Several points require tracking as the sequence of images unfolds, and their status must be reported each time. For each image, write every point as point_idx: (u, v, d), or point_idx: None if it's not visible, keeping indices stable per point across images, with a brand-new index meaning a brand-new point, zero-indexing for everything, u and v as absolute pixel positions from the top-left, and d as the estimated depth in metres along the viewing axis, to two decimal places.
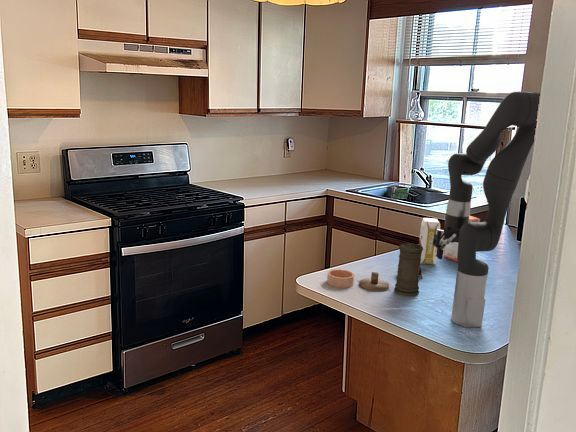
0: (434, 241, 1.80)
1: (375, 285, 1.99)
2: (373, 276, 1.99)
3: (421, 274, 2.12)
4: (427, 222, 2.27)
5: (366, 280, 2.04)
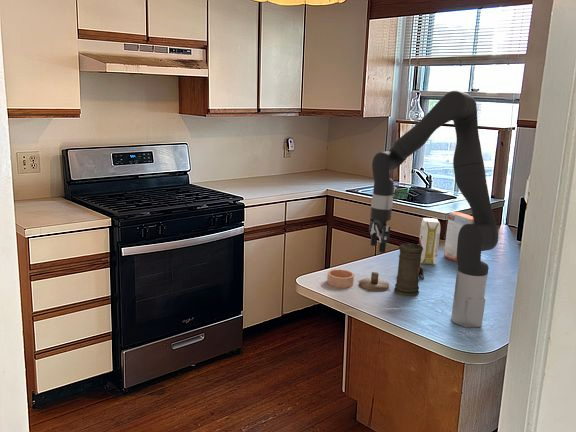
0: None
1: (375, 285, 1.99)
2: (373, 276, 1.99)
3: (423, 274, 2.12)
4: (427, 222, 2.27)
5: (366, 280, 2.04)
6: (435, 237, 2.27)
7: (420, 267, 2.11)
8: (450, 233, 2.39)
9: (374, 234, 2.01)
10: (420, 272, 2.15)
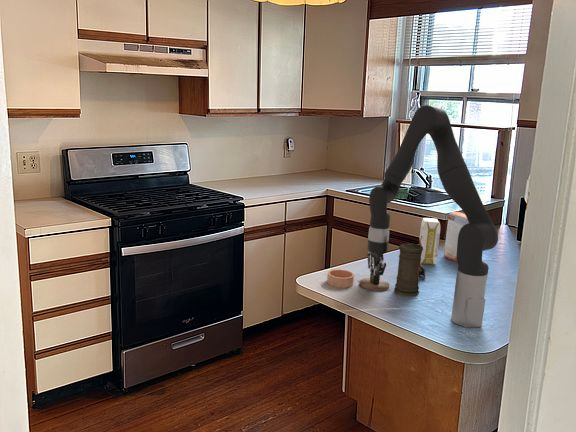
0: None
1: None
2: (373, 276, 1.99)
3: (424, 275, 2.11)
4: (427, 222, 2.27)
5: (366, 280, 2.04)
6: (435, 237, 2.27)
7: (422, 267, 2.10)
8: (450, 233, 2.39)
9: (373, 269, 2.01)
10: (421, 272, 2.14)
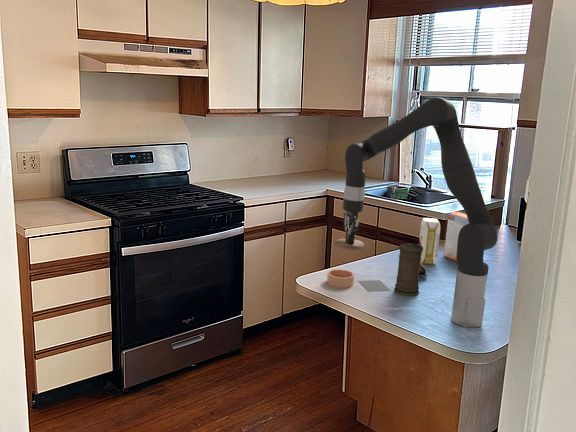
0: None
1: (350, 244, 1.98)
2: None
3: (425, 275, 2.11)
4: (427, 222, 2.27)
5: (342, 240, 2.02)
6: (435, 237, 2.27)
7: (423, 267, 2.10)
8: (450, 233, 2.39)
9: (349, 229, 2.00)
10: (423, 272, 2.14)
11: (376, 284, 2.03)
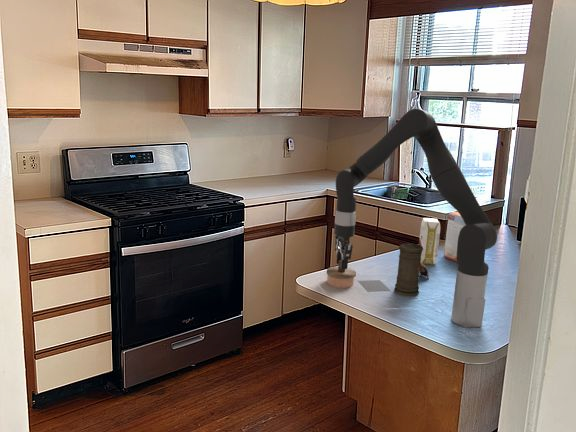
0: None
1: (342, 273, 1.99)
2: (340, 264, 2.00)
3: (427, 275, 2.11)
4: (427, 222, 2.27)
5: (334, 268, 2.04)
6: (435, 237, 2.27)
7: (425, 268, 2.10)
8: (450, 233, 2.39)
9: (340, 252, 2.03)
10: (424, 273, 2.14)
11: (376, 284, 2.03)
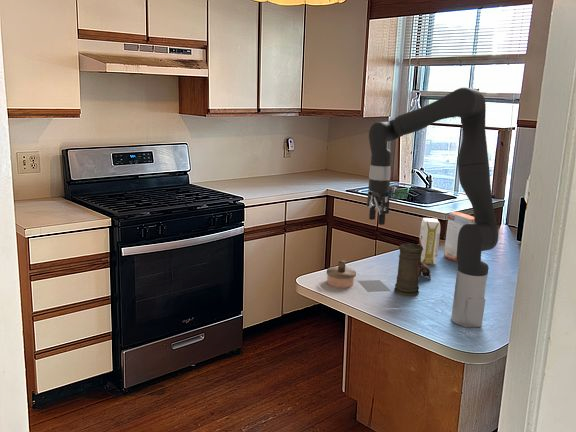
0: None
1: (342, 273, 1.99)
2: (340, 264, 2.00)
3: (429, 275, 2.11)
4: (427, 222, 2.27)
5: (334, 268, 2.04)
6: (435, 237, 2.27)
7: (427, 268, 2.10)
8: (450, 233, 2.39)
9: (372, 208, 1.99)
10: (427, 273, 2.14)
11: (376, 284, 2.03)
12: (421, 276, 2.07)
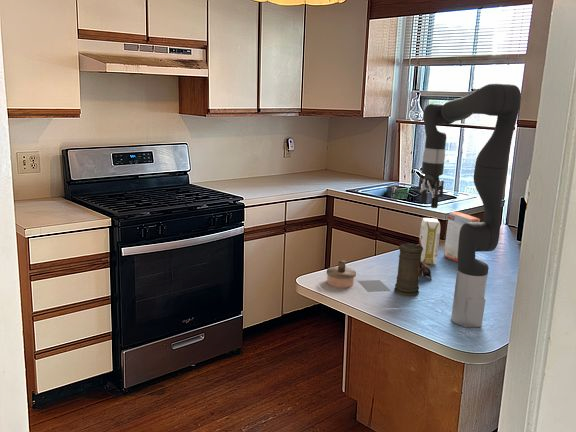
0: None
1: (342, 273, 1.99)
2: (340, 264, 2.00)
3: (430, 276, 2.11)
4: (427, 222, 2.27)
5: (334, 268, 2.04)
6: (435, 237, 2.27)
7: (428, 268, 2.10)
8: (450, 233, 2.39)
9: (424, 191, 1.98)
10: (427, 273, 2.13)
11: (376, 284, 2.03)
12: (422, 276, 2.07)
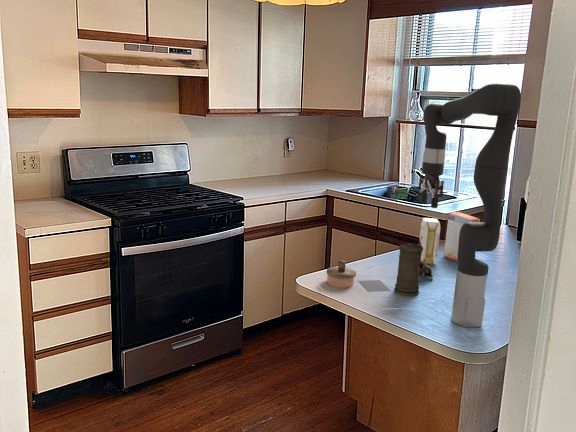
0: None
1: (342, 273, 1.99)
2: (340, 264, 2.00)
3: (431, 276, 2.10)
4: (427, 222, 2.27)
5: (334, 268, 2.04)
6: (435, 237, 2.27)
7: (429, 268, 2.10)
8: (450, 233, 2.39)
9: (424, 191, 1.98)
10: (428, 273, 2.13)
11: (376, 284, 2.03)
12: (423, 276, 2.07)
